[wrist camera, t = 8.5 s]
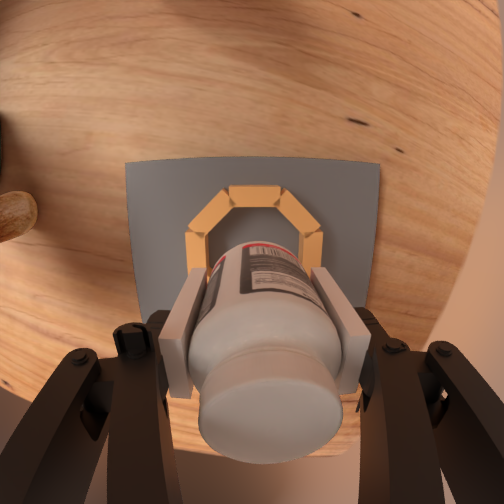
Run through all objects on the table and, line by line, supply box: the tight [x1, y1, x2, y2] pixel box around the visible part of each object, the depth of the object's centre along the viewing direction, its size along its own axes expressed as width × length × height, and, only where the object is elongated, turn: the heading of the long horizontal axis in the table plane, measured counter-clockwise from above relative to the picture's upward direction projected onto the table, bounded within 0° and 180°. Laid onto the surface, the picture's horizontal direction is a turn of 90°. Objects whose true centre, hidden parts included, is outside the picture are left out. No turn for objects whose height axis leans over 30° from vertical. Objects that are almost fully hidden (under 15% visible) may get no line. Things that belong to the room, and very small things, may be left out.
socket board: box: [125, 157, 380, 324], centre depth 22 cm, size 14×20×3 cm
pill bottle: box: [188, 241, 343, 464], centre depth 11 cm, size 5×5×10 cm
